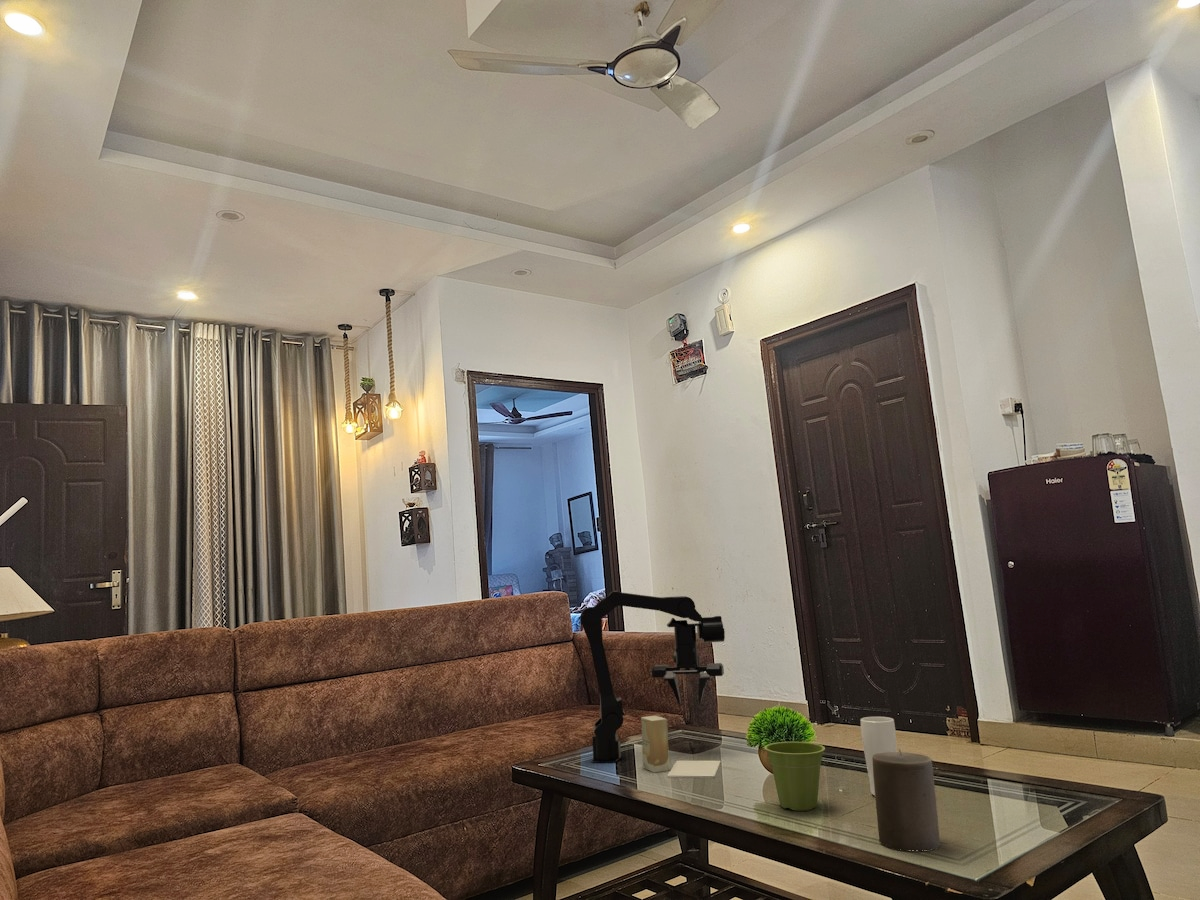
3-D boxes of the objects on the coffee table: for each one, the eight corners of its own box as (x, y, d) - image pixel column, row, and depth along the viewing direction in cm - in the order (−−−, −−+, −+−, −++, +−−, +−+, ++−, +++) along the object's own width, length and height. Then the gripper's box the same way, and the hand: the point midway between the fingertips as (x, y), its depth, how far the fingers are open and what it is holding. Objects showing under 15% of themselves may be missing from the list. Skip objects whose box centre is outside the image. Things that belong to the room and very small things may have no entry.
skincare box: (642, 768, 196) (639, 716, 199) (657, 765, 198) (655, 714, 200) (654, 773, 191) (652, 720, 193) (670, 770, 193) (667, 718, 195)
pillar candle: (884, 852, 129) (875, 755, 132) (874, 833, 139) (867, 743, 141) (947, 853, 127) (937, 755, 130) (933, 834, 137) (924, 743, 139)
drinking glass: (886, 789, 166) (878, 715, 169) (909, 797, 160) (901, 719, 163) (860, 794, 164) (852, 718, 166) (883, 801, 158) (875, 723, 160)
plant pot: (792, 818, 150) (786, 755, 151) (757, 804, 160) (752, 745, 162) (843, 809, 154) (837, 748, 156) (806, 795, 165) (801, 738, 167)
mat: (667, 777, 186) (667, 775, 186) (677, 762, 201) (677, 760, 201) (714, 777, 183) (714, 775, 184) (720, 762, 199) (720, 760, 199)
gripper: (723, 640, 219) (727, 699, 216) (656, 642, 223) (660, 700, 220) (719, 643, 208) (724, 705, 205) (649, 645, 212) (653, 706, 210)
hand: (689, 704), depth 211 cm, fingers open, 5 cm apart
